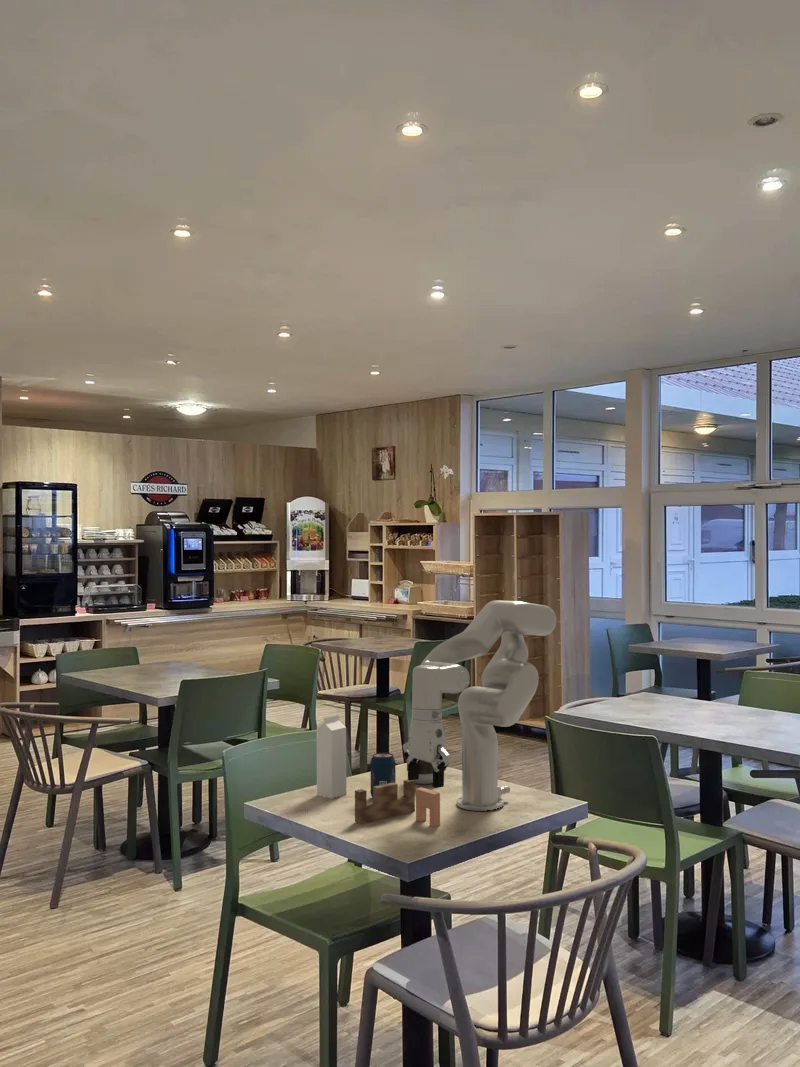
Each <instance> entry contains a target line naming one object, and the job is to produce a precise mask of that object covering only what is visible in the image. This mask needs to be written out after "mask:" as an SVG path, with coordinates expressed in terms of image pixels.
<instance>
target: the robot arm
mask: <svg viewBox="0 0 800 1067" xmlns="http://www.w3.org/2000/svg"><path fill="white" fill-rule="evenodd" d="M556 627H557V615H556V613H555V611H554V610H553V609H552V608H551V607H550V606H548V605H544V604H536V603H532V602H531V603H530V602H526V601H525V602H524V601H520V600H519V601H518V600H500V599H499V600H498V599H497V600H491V601H489V602H487V603H486V604H484V606H483V607H482V609H480V611H479V612H478V614H476V616H475V617H474V618H473V619H472V621H471V622H469V624H468V626H467V627H466V628H465V629H464V630H463V631H462V632H460V633H458V634H456V635H454V636H452V637H450V638H449V639H447V640H445V641H442V642H441V643H439V644H438V645H437V646H435V647H434V648H433V649H432V650H430V652H429V653H428V654H427V656H426V657H425V658H424V659H423V660H422V662H421V663H420V665H417V666H415V667H413V669H412V685H411V686H412V687H411V688H412V689H411V690H412V691H411V692H412V694H411V695H412V696H411V697H412V698H411V719H410V724H409V731H408V741H406V742H405V743H404V744H402V750H403V753H404V757H405V760H406V765H407V764H408V771H407V779H408V780H409V781H411V780H417V779H419V763H417V762H418V760H421V761H425V762H429V763H432V765H433V768H434V770H435V771H434V772H433V783H432V788H433V789H439V788H443V787H445V784H444V783H445V771H446V770H447V768H448V766H449V765H450V764H449V763H450V760H451V754H450V753H449V752H448V751H447V742H446V740H447V739H446V738H447V737H446V729H445V725H444V721H442V720H443V719H442V717H443V713H442V712H443V710H442V709H443V705H442V704H443V694H460V695H459V697H458V700H457V706H458V707H457V708H458V714H459V719H460V725H461V742H462V743H461V746H462V747H461V750H462V751H461V755H462V756H461V760H462V762H461V767H462V769H461V770H462V771H461V773H462V776H461V777H462V778H461V779H462V780H461V782H462V786H461V787H462V788H461V789H462V796H459V797H458V798H457V799H456V806H458V807H459V808H461V809H464V810H468V811H472V812H473V811H475V812H488V811H487V810H490V811H494V810H493V809H496V810H498V809H497V808H499V809H501V808H500V807H502V806H503V807H504V803H505V801H504V799H502V795H506V794H509V793H510V792H511V788H510V786H509V785H504V786H500V785H498V784H499V783H498V782H499V779H498V774H499V773H498V770H499V768H498V767H499V766H498V765H499V764H498V763H499V761H498V760H499V758H498V756H499V754H498V747H499V746H498V737H497V736H498V735H497V732H496V730H495V728H494V726H496V727H501V728H503V727H505V728H507V727H511V726H513V725H515V724H516V723H517V722H518V720H519V719H520V718H521V716H522V715H523V713H524V712H525V711H526V709H527V707H528V705H529V704H530V702H531V701H532V699H533V697H534V695H536V692H537V689H538V686H539V682H540V681H539V678H540V677H539V672H538V669H537V668H536V666H534V665H533V664H532V663H530V662H528V659H529V649H528V646H527V644H526V642H525V638H524V635H525V636H538V637H539V636H541V637H545V636H548V635H550V634H552V633H553V632H554V630H555V628H556ZM499 638H501V642H500V645H499V648H498V649H497V651H496V652H495V654H494V655H493V657H492V658H491V659H490V661H489V662H488V663H487V665H486V666H485V668H484V669H483V672H482V674H481V677H480V678H481V679H480V680H481V681H480V682H481V685H482V686H470V687H469V685H470V681H471V677H470V673H469V671H468V670H467V668H466V667H465V666H463V665H461V664H458V663H460V662H464V661H466V660H467V661H469V660H472V659H476V658H479V657H482V656H484V655H486V654H488V652H489V651H490V650H491V648H493V646H494V645H495V643H497V641H498V640H499ZM437 763H439V765H437ZM503 807H502V808H503Z"/></svg>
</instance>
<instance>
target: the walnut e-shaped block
mask: <svg viewBox="0 0 800 1067" xmlns="http://www.w3.org/2000/svg"><path fill="white" fill-rule="evenodd" d="M415 784H416V783H415V780H411V781H409V780H408V778H407V779H404V780H403V795H400V796H399V795H398V789H399V788H398V783H388V784H383V785H379V786H374V787H373V798H372V802H369V803H368V802H367V797H368V796H367V795H368V794H367V790H366V789H363V788H360V789H356V790H354V823H355V822H356V823H355V824H358V823H359V825H362V824H366V823H365V822H367V823H370V821H371V822H375V821H379V820H382V819H383V820H384V819H387V818H391V817H396V816H399V815H403V814H408V813H412V812H416V786H415ZM374 820H375V821H374ZM361 823H362V824H361Z"/></svg>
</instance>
